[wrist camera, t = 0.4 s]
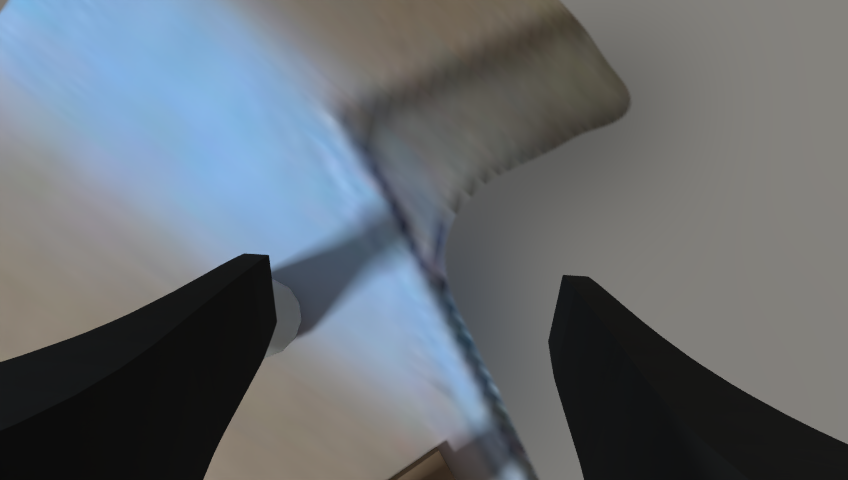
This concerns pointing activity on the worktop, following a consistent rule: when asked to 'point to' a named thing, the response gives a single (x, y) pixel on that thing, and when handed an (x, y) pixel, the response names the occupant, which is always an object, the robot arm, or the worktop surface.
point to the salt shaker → (284, 318)
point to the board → (427, 468)
